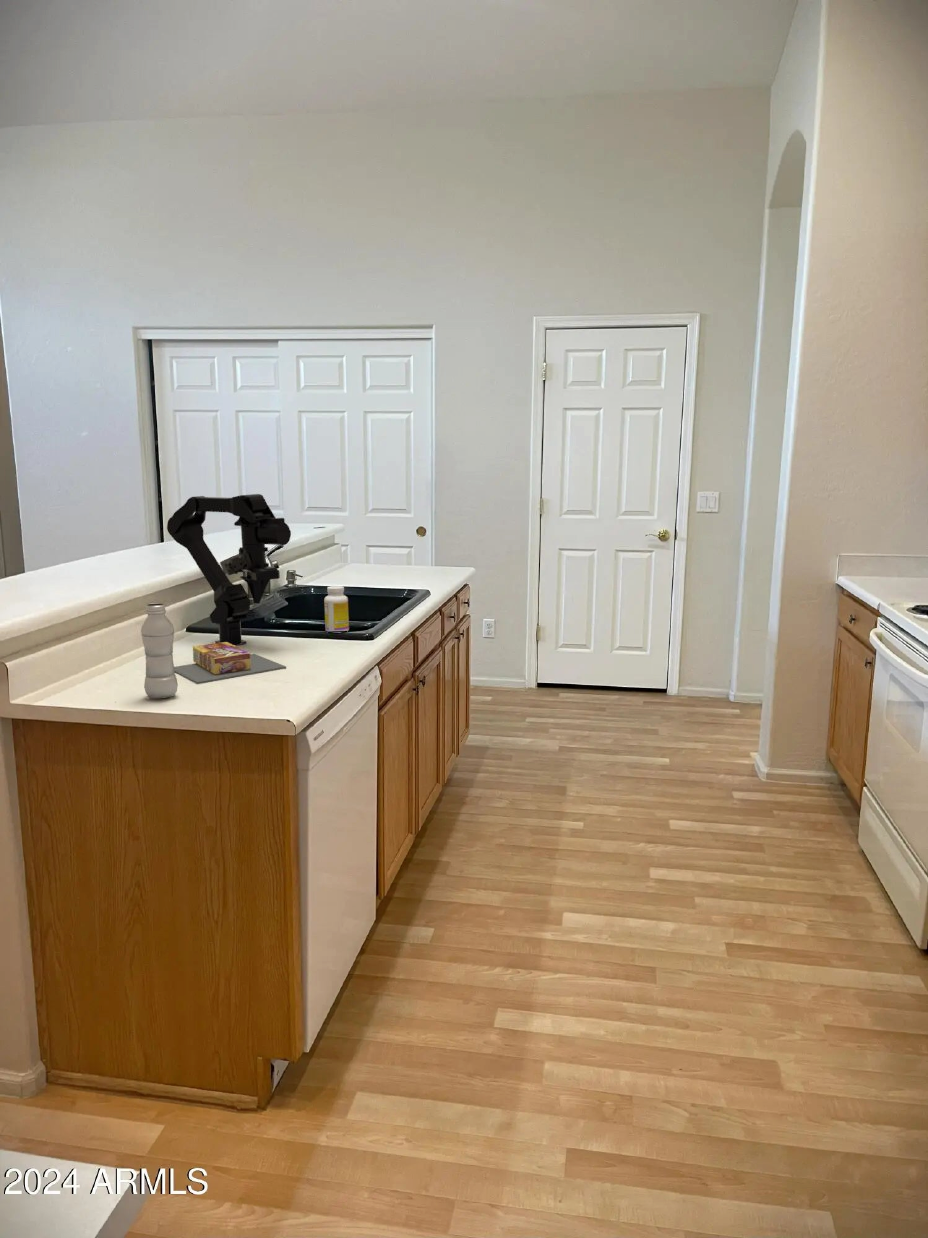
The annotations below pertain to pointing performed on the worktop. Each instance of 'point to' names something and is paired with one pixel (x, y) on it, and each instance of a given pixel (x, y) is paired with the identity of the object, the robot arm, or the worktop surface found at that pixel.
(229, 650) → the candy box
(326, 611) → the supplement bottle
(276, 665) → the mat
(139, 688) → the worktop surface
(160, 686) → the plastic bottle
